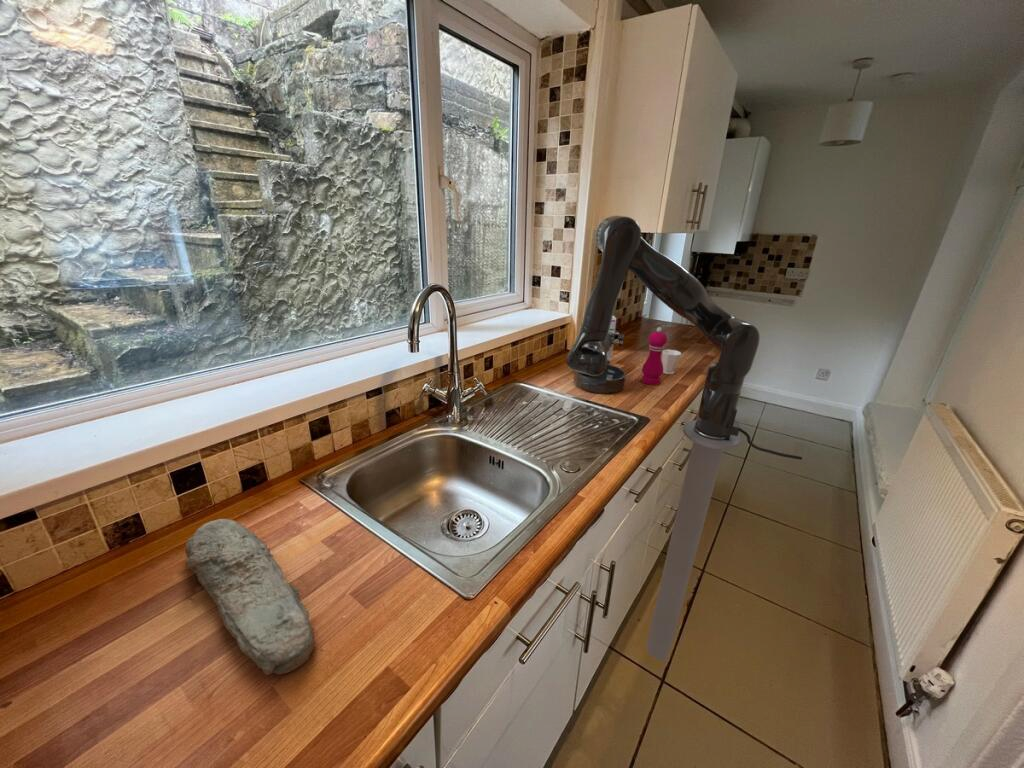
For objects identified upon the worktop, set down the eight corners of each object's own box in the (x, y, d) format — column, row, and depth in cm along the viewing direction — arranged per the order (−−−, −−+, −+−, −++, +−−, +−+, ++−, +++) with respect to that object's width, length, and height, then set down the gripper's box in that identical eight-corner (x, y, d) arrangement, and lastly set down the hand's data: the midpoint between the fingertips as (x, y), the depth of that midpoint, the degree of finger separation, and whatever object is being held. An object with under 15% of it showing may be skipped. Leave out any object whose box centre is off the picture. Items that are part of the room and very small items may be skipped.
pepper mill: (658, 387, 141) (668, 331, 134) (637, 382, 145) (646, 327, 137) (663, 380, 147) (673, 326, 140) (643, 376, 151) (651, 323, 143)
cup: (655, 372, 155) (659, 352, 152) (665, 365, 162) (668, 346, 159) (674, 376, 151) (678, 356, 148) (683, 370, 158) (687, 350, 155)
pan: (628, 380, 146) (630, 367, 144) (618, 398, 132) (620, 384, 130) (581, 372, 153) (582, 359, 151) (566, 388, 138) (568, 374, 136)
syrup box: (611, 360, 136) (617, 318, 130) (594, 360, 136) (599, 317, 130) (608, 355, 141) (613, 314, 136) (591, 354, 141) (596, 313, 135)
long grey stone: (256, 710, 48) (337, 651, 55) (250, 682, 46) (334, 624, 53) (173, 548, 68) (240, 520, 75) (166, 523, 66) (236, 497, 73)
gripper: (623, 335, 119) (628, 323, 133) (574, 329, 123) (585, 318, 138) (619, 359, 122) (625, 345, 136) (572, 353, 126) (583, 340, 141)
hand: (605, 332), depth 137 cm, fingers closed on syrup box, 7 cm apart
